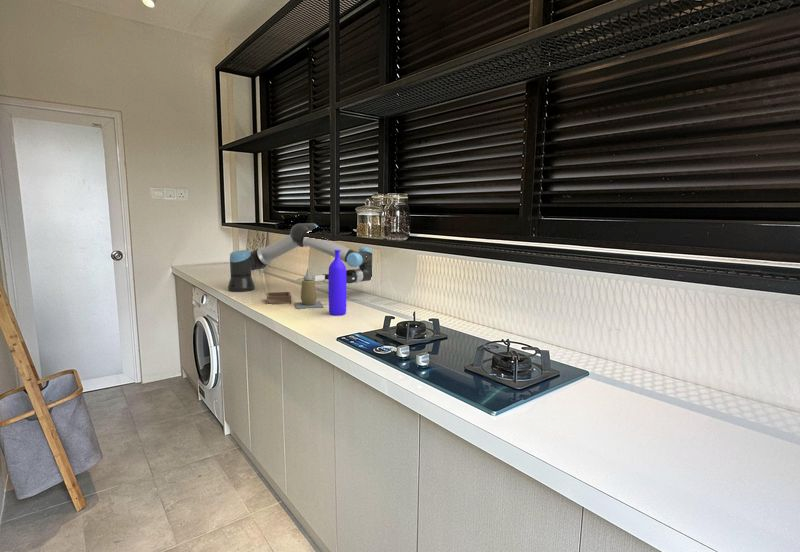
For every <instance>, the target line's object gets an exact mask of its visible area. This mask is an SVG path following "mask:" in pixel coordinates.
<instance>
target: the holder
mask: <svg viewBox="0 0 800 552" xmlns="http://www.w3.org/2000/svg"><path fill="white" fill-rule="evenodd" d="M290 303H293V302H292V294H291V292H290V291H276V292H266V305H267V304H272V305H286V304H287V305H288V304H290Z"/></svg>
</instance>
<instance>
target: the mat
mask: <svg viewBox="0 0 800 552" xmlns="http://www.w3.org/2000/svg"><path fill="white" fill-rule="evenodd" d="M294 305H295V308H296V310H304V309H305V310H306V308H308V309H321V308H323V309H324V305H323V303H322V302H321V301H319V300H318V301H317V300H316V301H315V304H314V305H303V303H302V301H300V302H299V301H298V302H297V301H295V302H294Z"/></svg>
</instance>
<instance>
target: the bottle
mask: <svg viewBox="0 0 800 552" xmlns="http://www.w3.org/2000/svg"><path fill="white" fill-rule="evenodd" d="M334 251H335V257H334V259H333V260H332V261H331V263H330V265H329V267H328V274H329V277H328V279H327V280H328V284H327V285H328V314H329V315H330V316H337V317H338V316H340V317H341V316H345V315H346V314H347V283H346V270H347V266H346V265H345V264H344V263H345V262H344V261H342V260H340V256H339V253H340V251H341V250H334Z"/></svg>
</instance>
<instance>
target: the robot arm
mask: <svg viewBox="0 0 800 552" xmlns="http://www.w3.org/2000/svg"><path fill="white" fill-rule="evenodd" d="M317 227H319V225H317V223H313V222H309V223H307V222H306V223H301V222H300V223H296V224H295V225H293V226H292V227H291V229H290V232H289V233H290V234H288V235H287V236H285V237H283V238H280V239H278V240H277V241H275V242H273V243H271V244H269V245H267V246H265V247H262V246H260V247H258V248H255V250H252V251H250V250H248V249H240V250H235V251H232V252H231V253H229V267H230V271H229V273H230V278H229V282H228V284H227V290H228V291H229V292H236V293H237V292H238V293H239V292H241V293H242V292H251V291H254V290H255V289H256V286H255V283H254V280H253V277H252V271H256V270H262V269H264V268H266V267H268V265H269V264H271V262H272V261H273V260H274V259H276V258H278V257H280V256H282V255H284V254H286V253H288V252H291V250H294V249H296V248H298V247H299V248H300V247H301V248H304V247H305V248H307V247H310V248H312V249H314V250H317V251H319V252H321V253H323V254H326V255H329V256H331V257H333V258H335V251H334V250H341V251H340V253H339V256H340V260H341V261H342V262H344V263H347V265H348V266H349V267H353V268H352V269H346V284H354V283H356V284H358V283H361V282H368V281H372V280H371V277H372V267H373V254H372V253H373V251H372V252H371V248H372V247H371V248H369V247H370V246H361V247H359V250H358V251H356V250H353V249H352V248H348V247H347V246H343V245H341V244H339V243H337V242H335V241H331V240H330V241H327V240H328V239H327V240H321V239H315V238H309V237H303V234H304V233H309V232H312V230H313V229H315V228H317ZM366 256H367V257H366ZM356 267H357V268H356ZM358 267H359V268H358ZM328 277H329V273H322V274H319V275H313V280H314V281H315V282H319V281H324V282H325V280H328Z"/></svg>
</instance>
